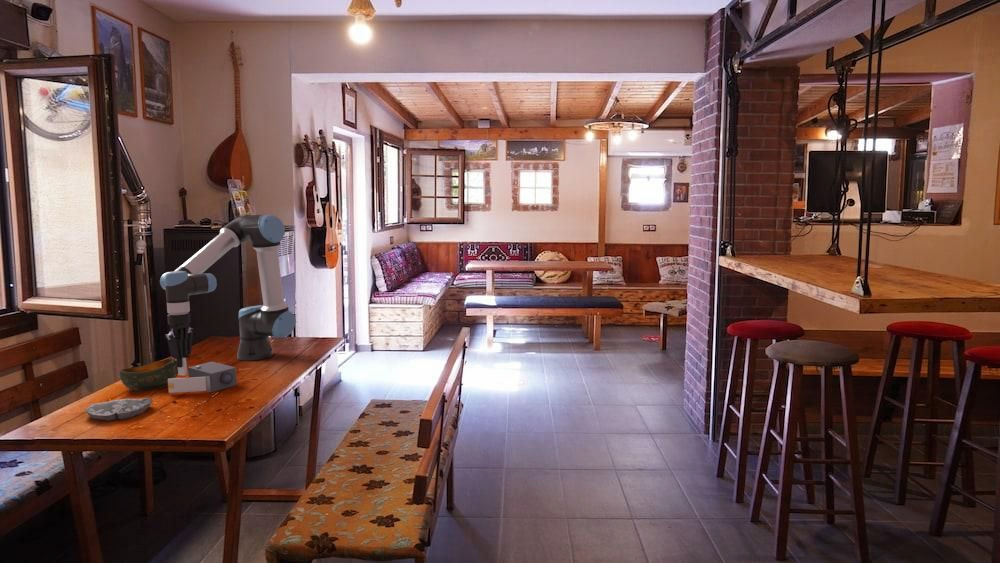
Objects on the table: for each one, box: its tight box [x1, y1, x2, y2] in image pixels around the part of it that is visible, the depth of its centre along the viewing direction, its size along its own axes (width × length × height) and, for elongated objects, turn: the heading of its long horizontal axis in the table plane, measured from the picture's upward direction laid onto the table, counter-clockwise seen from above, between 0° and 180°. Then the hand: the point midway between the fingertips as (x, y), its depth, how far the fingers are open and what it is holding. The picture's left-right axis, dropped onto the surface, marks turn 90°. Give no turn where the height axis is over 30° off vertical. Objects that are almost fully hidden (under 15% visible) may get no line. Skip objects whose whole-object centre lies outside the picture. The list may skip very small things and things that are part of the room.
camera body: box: [187, 361, 238, 393], centre depth 243 cm, size 10×18×8 cm, turn 56°
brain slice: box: [84, 397, 154, 421], centre depth 212 cm, size 20×17×3 cm
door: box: [167, 376, 211, 394], centre depth 233 cm, size 2×14×6 cm, turn 101°
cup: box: [119, 357, 179, 392], centre depth 241 cm, size 13×20×10 cm, turn 97°
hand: (182, 374), depth 236 cm, fingers closed
